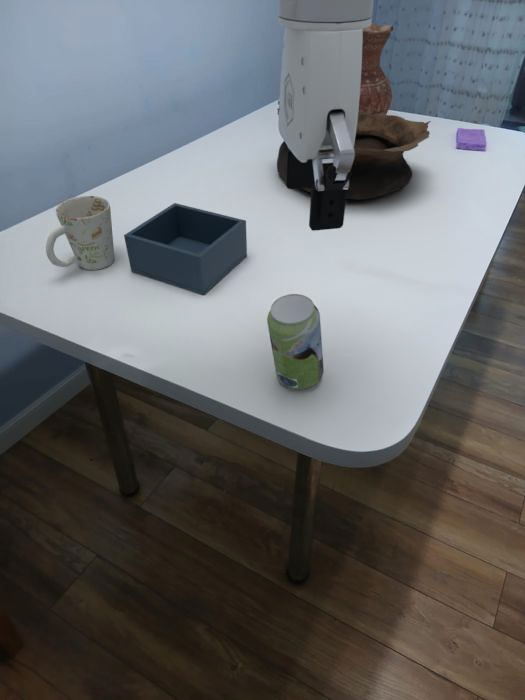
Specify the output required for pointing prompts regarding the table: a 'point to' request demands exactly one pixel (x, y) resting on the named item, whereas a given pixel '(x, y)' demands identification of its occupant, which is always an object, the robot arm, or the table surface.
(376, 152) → the bowl
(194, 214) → the bin
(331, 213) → the robot arm
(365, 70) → the jug
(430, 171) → the table surface
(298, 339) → the beverage can
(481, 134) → the sponge
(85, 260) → the mug
